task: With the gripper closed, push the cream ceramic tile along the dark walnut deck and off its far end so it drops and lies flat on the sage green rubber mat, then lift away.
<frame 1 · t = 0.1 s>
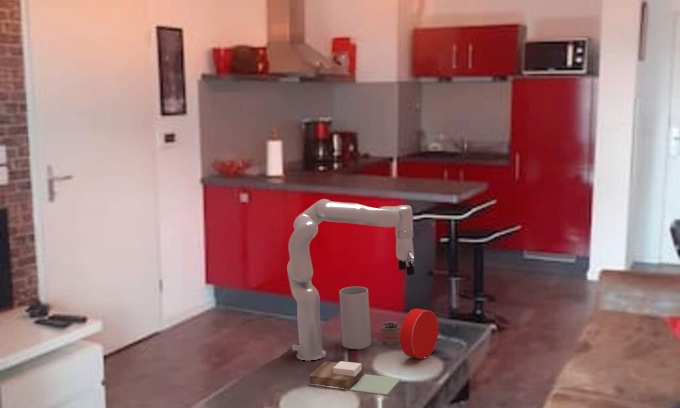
hand: (406, 272, 321), 31 cm above the table, tool pointing down, fingers open, 9 cm apart
tile: (347, 368, 285), point 5 cm above the table, touching deck
deck: (336, 380, 288), on the table
toy clock: (420, 356, 307), on the table
lighter: (391, 343, 323), on the table
mat: (375, 384, 281), on the table
cylinder vase: (357, 345, 324), on the table
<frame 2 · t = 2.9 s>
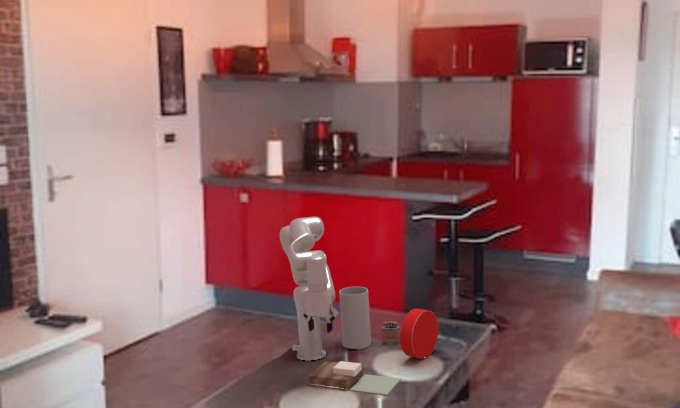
hand: (320, 330, 287), 20 cm above the table, tool pointing down, fingers open, 7 cm apart
nothing on the table moved.
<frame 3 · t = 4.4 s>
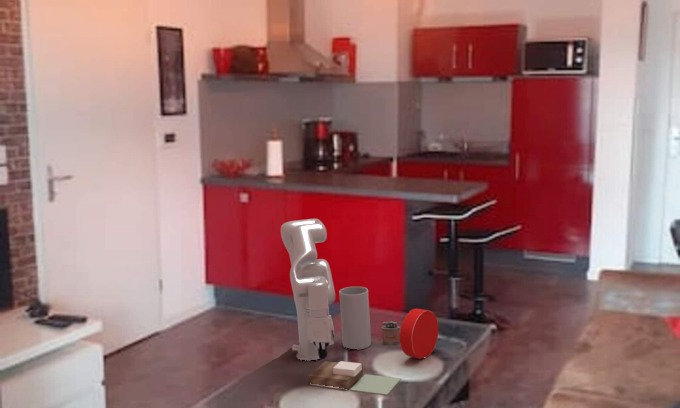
hand: (322, 357, 288), 9 cm above the table, tool pointing down, fingers closed
nothing on the table moved.
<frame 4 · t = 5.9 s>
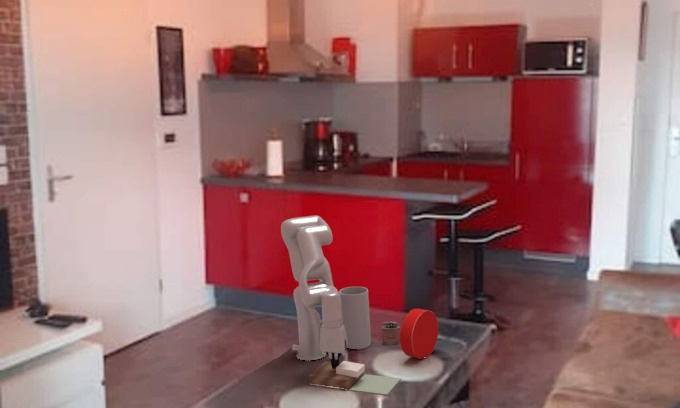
hand: (335, 367, 287), 5 cm above the table, tool pointing down, fingers closed
tile: (350, 369, 284), point 5 cm above the table
everything else where it was.
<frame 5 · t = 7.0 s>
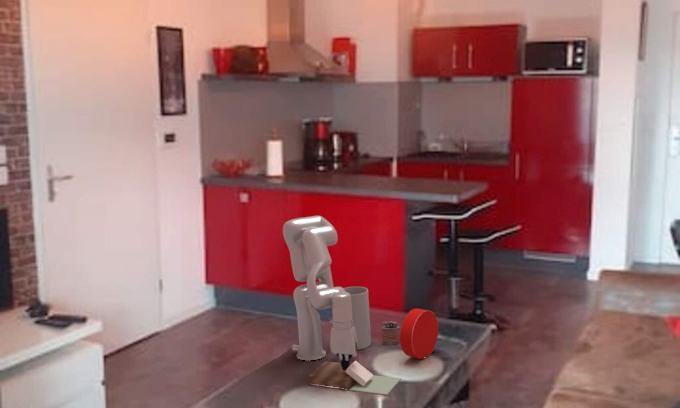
hand: (345, 369, 285), 5 cm above the table, tool pointing down, fingers closed
tile: (359, 373, 283), point 4 cm above the table, tilted 35°, touching deck, mat
everything else where it was.
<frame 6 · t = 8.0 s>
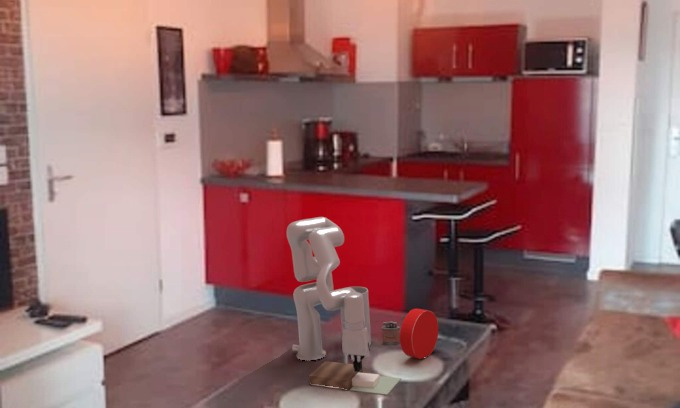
hand: (358, 370, 283), 5 cm above the table, tool pointing down, fingers closed
tile: (365, 380, 282), point 2 cm above the table, touching mat
everything else where it was.
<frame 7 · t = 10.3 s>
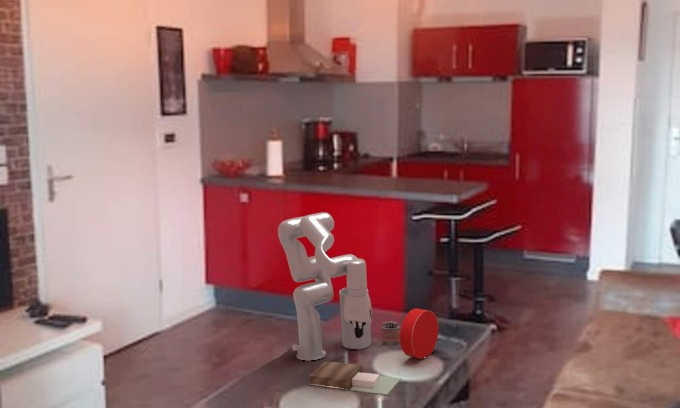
hand: (359, 336, 283), 18 cm above the table, tool pointing down, fingers closed
nothing on the table moved.
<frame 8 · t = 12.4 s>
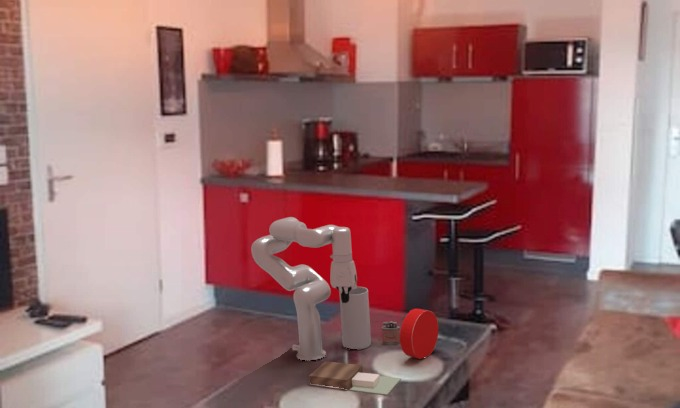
hand: (345, 302, 297), 27 cm above the table, tool pointing down, fingers closed
nothing on the table moved.
at the end: tile inside the target area on the mat (3.8 cm from its centre), point 1.6 cm above the mat's base; tile touching mat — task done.
